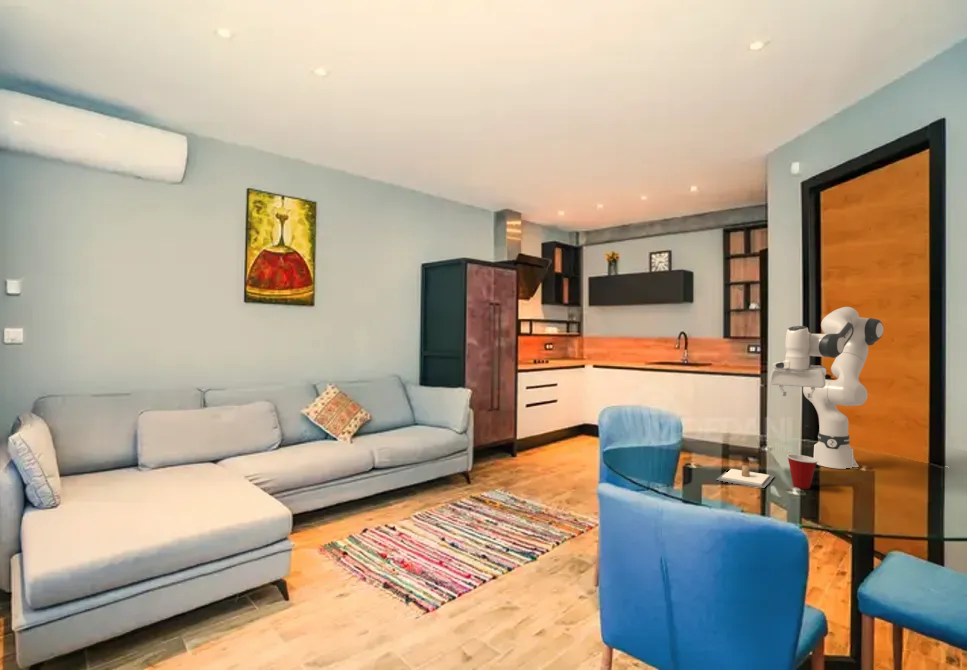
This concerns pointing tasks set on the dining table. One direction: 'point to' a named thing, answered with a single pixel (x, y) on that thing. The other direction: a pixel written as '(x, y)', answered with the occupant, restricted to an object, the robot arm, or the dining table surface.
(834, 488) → the dining table surface
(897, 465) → the dining table surface
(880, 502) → the dining table surface
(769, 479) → the mat
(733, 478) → the lid
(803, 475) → the plastic cup
